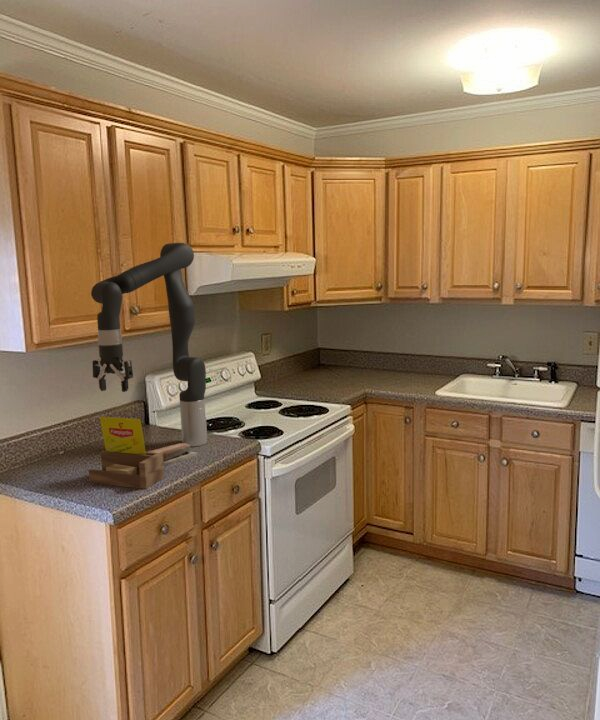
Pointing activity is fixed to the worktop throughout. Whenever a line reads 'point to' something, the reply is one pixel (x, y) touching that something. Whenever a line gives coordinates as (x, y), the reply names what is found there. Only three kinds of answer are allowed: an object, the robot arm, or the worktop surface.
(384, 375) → the worktop surface
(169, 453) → the packaged product
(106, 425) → the food package
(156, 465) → the walnut rack
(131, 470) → the upper pine offcut
